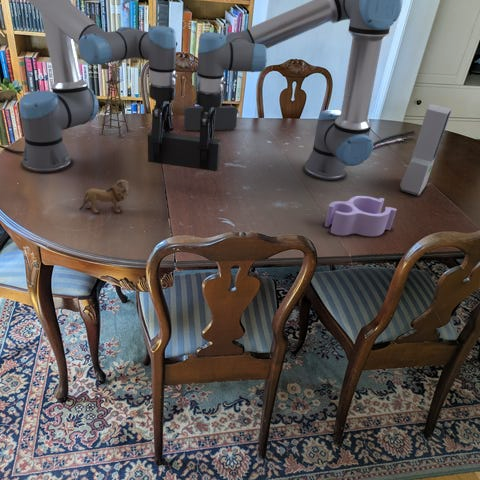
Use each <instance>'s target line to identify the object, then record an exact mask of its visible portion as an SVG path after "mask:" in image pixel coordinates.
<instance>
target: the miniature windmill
mask: <svg viewBox="0 0 480 480" xmlns="http://www.w3.org/2000/svg"><path fill="white" fill-rule="evenodd" d="M109 64H110V65H109ZM109 64H108V63H106V64H101V65H100V69H101V70H108V71H109V75H110V78H109V80H107V81H105V83H106V84H109V85H108V88H107V90H108V91H107V94H106V95H107V96H106V99H105V106H104V108H105V110H104V116H103V118H102V120H103V121H102V124H101V127H102V128H101V135H104V132H105V127H109V128H110V129H112V128H115V129H118V135H119V138H121V137H122V132H121V128H123V127H124V126H125V128H126V131H127V132H129V131H130V129H129V126H128V123H129V121H127V119H126V114H125V109H124V107H123V103H122V98H121V95H120V91H119V89H120V88H119V86H118V84H120V83H121V82H122V81H120V80H117V79H118V77H119V76H120V70H121V68H120V66H121V64H120V61H114V62H110V63H109ZM116 92H117V96H118V97H117V96H116ZM113 99H114V100H113ZM109 102H110V103H109ZM118 102H119V104H120V108H118ZM113 103H114V105H115V107H113ZM109 106H110V107H109ZM108 107H109V109H108ZM113 110H115V111H116V112H113ZM120 114H122V116H123V120H121V119H120V118H119V115H120ZM113 115H116V119H113ZM107 117H109V119H108V120H106V118H107ZM113 121H115V122H117V126H115V125H112V123H113ZM108 122H109V124H107V123H108ZM120 123H122V125H120Z"/></svg>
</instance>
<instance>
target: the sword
mask: <svg viewBox="0 0 480 480" xmlns="http://www.w3.org/2000/svg"><path fill="white" fill-rule="evenodd" d="M405 138H406V137H403V136H402V137H399V138H396V139H392V140H388V141H384V142H379V143H377V144H375V145H373V149H376V148H378V147H381V146H384V145H388V144H389V145H390V144H392V143H398V142H405V141H407V140H411V139H412V138H408V139H405ZM404 139H405V140H404Z"/></svg>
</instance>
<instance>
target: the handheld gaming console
mask: <svg viewBox="0 0 480 480" xmlns="http://www.w3.org/2000/svg"><path fill="white" fill-rule="evenodd" d="M202 110H203V107H202V106H199V105H191V106H189V105H188V106H185V108H184V114H183V115H184V117H183V119H184V121H183V122H184V123H183V127H184V129H185V130H186V131H190V132H192V131H193V132H194V131H200V118H201V111H202ZM238 111H239V110H238V107H236V106H235V105H221V106H219V107H216V115H215V126H214V131H229V130H230V131H231V130H235V129H236V128H237V123H238V122H237V119H238Z"/></svg>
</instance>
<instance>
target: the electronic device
mask: <svg viewBox="0 0 480 480" xmlns="http://www.w3.org/2000/svg"><path fill="white" fill-rule="evenodd" d="M451 114H452V108H449V107H445V106H441V105H437V104H433V103H432V104H431V103H430V104H429V105H428V106H427V108H426V111H425V114H424V118H423V121H422V123H421V127H420V130H419V133H418V137H417V140H416V143H415V146H414V150H413V152H412V155H411V160H410V162H409V164H408V166H407V168H406V170H405V172H404V175H403V177H402V179H401V181H400V183H399V188H400V190H401V192H405V193H407V194H411V195H414V196H418V197H419V196H420V195H421V193H422V192H423V191H424V189H425V187H426V186H427V183H428V181H429V178H430V175H431V173H432V172H431V171H432V168H433V166H434V162H435V159H436V157H437V154H438V151H439V148H440V145H441V142H442V138H443V136H444V133H445V131H446V128H447V125H448V122H449V118H450V116H451Z"/></svg>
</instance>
